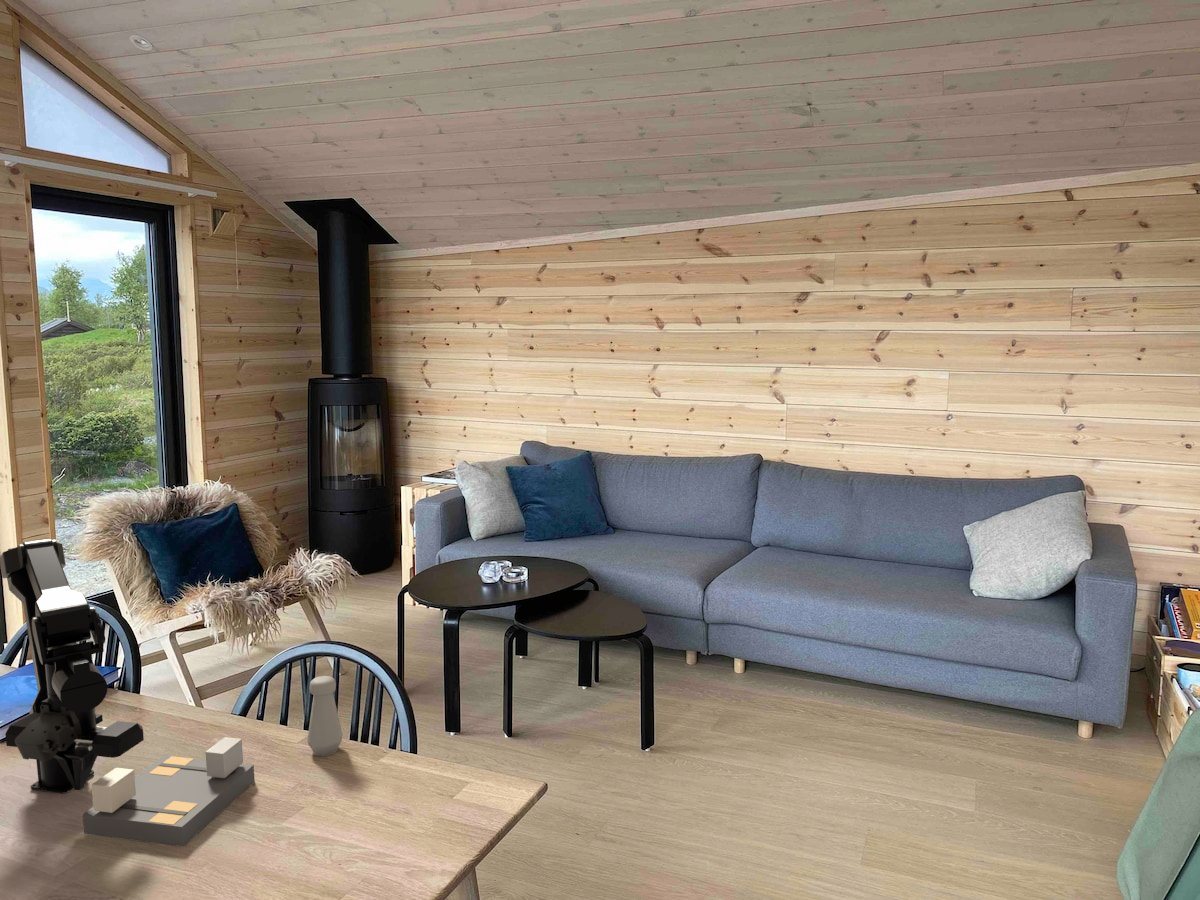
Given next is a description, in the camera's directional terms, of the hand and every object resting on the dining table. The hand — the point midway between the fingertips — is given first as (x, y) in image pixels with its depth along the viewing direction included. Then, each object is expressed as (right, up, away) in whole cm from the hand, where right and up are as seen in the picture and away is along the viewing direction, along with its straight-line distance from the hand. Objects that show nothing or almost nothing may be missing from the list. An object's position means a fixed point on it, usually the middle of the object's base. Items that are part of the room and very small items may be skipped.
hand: (79, 788), depth 135 cm
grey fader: (+18, 0, +9) cm, 20 cm away
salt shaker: (+30, -2, +22) cm, 37 cm away
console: (+12, -4, +4) cm, 13 cm away
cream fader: (+6, -2, -1) cm, 6 cm away
